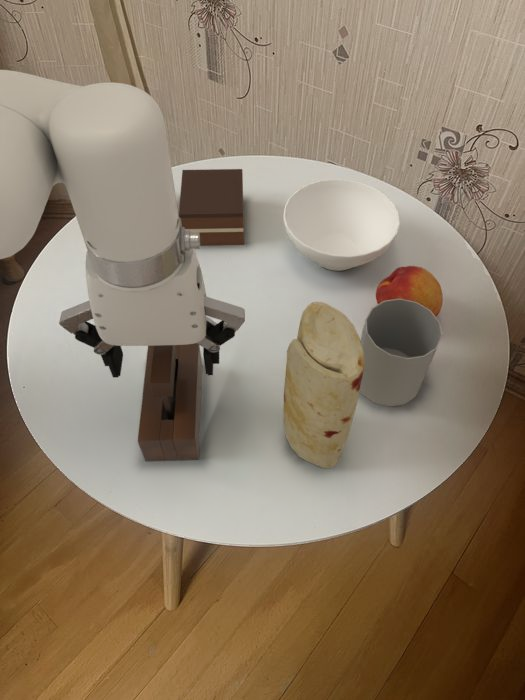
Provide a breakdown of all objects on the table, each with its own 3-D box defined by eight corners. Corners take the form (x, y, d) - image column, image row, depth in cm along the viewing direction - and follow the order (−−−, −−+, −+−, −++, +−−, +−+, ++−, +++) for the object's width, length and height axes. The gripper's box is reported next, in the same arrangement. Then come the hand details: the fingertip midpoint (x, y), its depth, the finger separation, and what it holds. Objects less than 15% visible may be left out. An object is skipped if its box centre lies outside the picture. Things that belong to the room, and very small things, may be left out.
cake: (183, 245, 84) (178, 214, 79) (186, 201, 90) (182, 169, 85) (244, 244, 84) (243, 213, 79) (243, 200, 90) (242, 168, 85)
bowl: (259, 254, 83) (259, 217, 77) (326, 202, 90) (331, 164, 84) (346, 311, 76) (353, 275, 71) (411, 250, 84) (423, 212, 78)
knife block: (145, 461, 64) (137, 441, 59) (154, 365, 71) (148, 342, 67) (198, 460, 64) (194, 439, 60) (202, 364, 71) (198, 341, 67)
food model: (355, 465, 63) (389, 364, 47) (300, 483, 62) (315, 386, 46) (322, 395, 69) (342, 282, 53) (270, 410, 67) (274, 300, 51)
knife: (165, 439, 65) (149, 383, 55) (170, 381, 70) (155, 320, 60) (182, 439, 65) (169, 383, 55) (186, 380, 70) (174, 319, 60)
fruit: (399, 283, 80) (412, 241, 73) (446, 316, 76) (464, 275, 70) (362, 312, 76) (372, 271, 70) (409, 348, 73) (424, 308, 66)
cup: (424, 358, 72) (445, 308, 64) (417, 413, 67) (438, 366, 59) (359, 344, 73) (371, 292, 65) (347, 396, 69) (359, 348, 61)
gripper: (242, 213, 48) (245, 335, 62) (37, 216, 48) (87, 338, 62) (243, 278, 44) (246, 393, 58) (18, 282, 43) (76, 397, 57)
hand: (164, 365), depth 60 cm, fingers open, 9 cm apart
